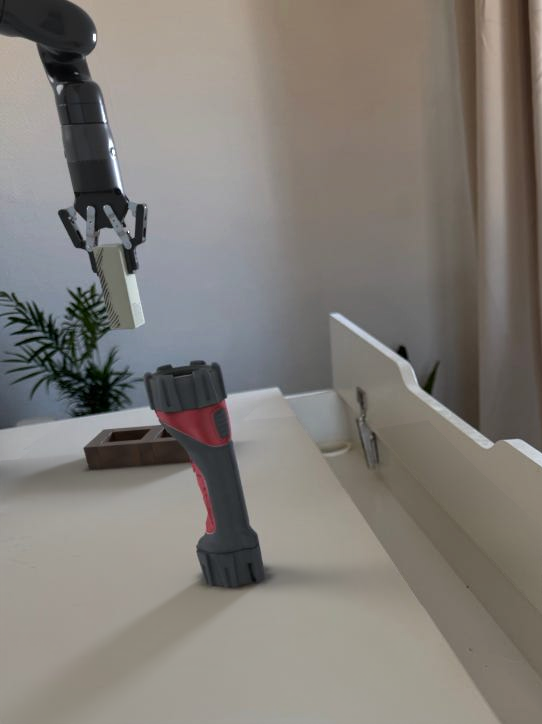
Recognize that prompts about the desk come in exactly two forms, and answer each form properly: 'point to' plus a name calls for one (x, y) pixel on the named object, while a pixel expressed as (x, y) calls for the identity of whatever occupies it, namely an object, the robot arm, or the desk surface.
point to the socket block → (134, 448)
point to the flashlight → (209, 467)
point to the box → (118, 287)
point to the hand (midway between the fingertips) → (116, 274)
